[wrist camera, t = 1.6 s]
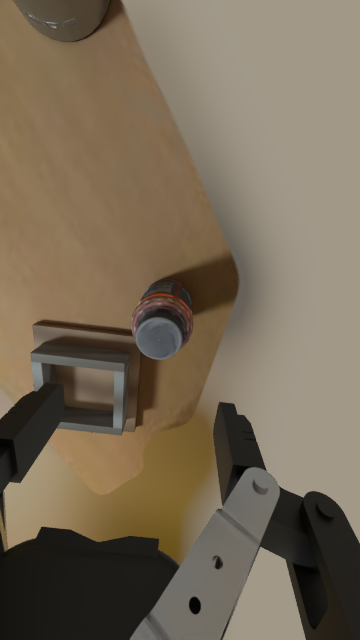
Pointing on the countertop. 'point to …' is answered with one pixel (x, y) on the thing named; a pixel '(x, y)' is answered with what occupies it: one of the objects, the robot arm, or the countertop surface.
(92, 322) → the countertop surface
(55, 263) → the countertop surface
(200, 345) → the countertop surface
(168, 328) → the supplement bottle
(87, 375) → the socket board
